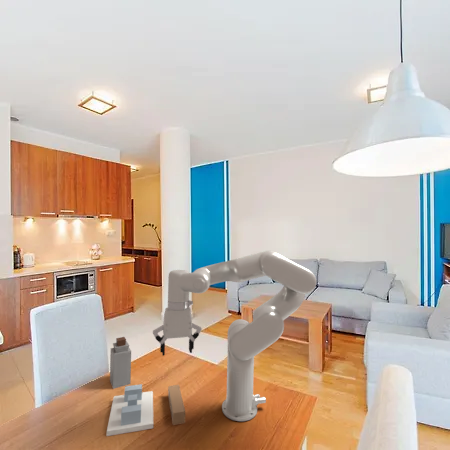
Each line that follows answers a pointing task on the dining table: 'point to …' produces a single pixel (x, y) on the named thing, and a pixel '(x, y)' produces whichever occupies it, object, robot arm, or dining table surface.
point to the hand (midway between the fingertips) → (177, 352)
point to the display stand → (131, 411)
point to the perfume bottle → (120, 363)
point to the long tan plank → (176, 405)
